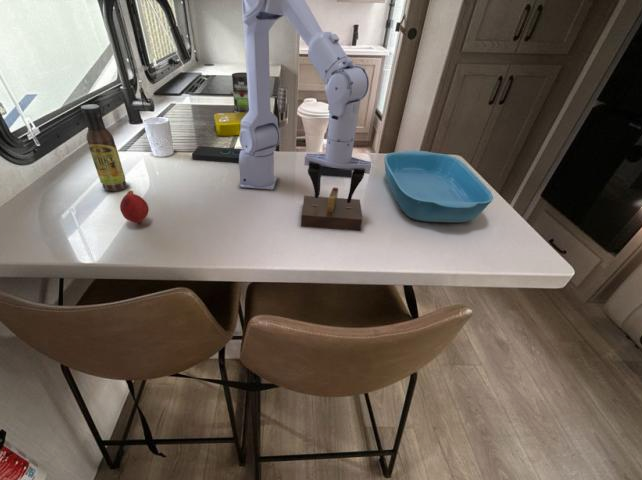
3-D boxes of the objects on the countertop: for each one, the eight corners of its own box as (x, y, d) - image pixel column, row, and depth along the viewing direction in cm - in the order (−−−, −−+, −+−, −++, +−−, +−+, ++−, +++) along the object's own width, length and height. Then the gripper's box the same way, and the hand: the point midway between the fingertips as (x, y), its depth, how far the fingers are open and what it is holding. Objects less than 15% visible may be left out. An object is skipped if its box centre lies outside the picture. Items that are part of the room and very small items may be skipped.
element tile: (256, 135, 126) (256, 121, 123) (217, 136, 124) (215, 122, 120) (251, 123, 137) (250, 110, 134) (214, 124, 134) (213, 111, 131)
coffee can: (254, 115, 146) (252, 77, 136) (231, 113, 147) (228, 76, 137) (259, 109, 153) (258, 73, 144) (238, 107, 154) (235, 71, 145)
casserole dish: (373, 170, 104) (378, 146, 100) (444, 172, 105) (452, 149, 100) (400, 232, 78) (408, 204, 73) (495, 235, 78) (509, 208, 73)
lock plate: (300, 226, 79) (301, 214, 76) (303, 206, 86) (304, 194, 84) (360, 230, 78) (362, 218, 76) (357, 210, 85) (359, 198, 83)
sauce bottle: (100, 192, 88) (68, 109, 75) (108, 182, 93) (79, 102, 79) (124, 192, 89) (97, 109, 75) (131, 182, 93) (106, 102, 80)
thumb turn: (332, 212, 78) (334, 197, 75) (326, 211, 78) (328, 196, 75) (336, 202, 82) (338, 187, 79) (331, 201, 82) (332, 186, 79)
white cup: (180, 152, 111) (174, 119, 104) (162, 159, 106) (154, 125, 100) (164, 147, 114) (157, 115, 107) (145, 154, 109) (137, 121, 102)
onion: (137, 232, 75) (126, 199, 69) (120, 224, 77) (108, 192, 72) (157, 221, 79) (148, 189, 73) (140, 214, 81) (130, 182, 75)
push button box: (311, 174, 101) (312, 161, 98) (312, 163, 107) (313, 150, 104) (350, 177, 100) (353, 164, 97) (349, 166, 107) (351, 153, 104)
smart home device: (252, 158, 104) (191, 154, 106) (252, 164, 106) (191, 159, 107) (257, 149, 110) (199, 145, 112) (257, 154, 112) (199, 150, 113)
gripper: (377, 135, 70) (365, 195, 80) (311, 128, 73) (307, 187, 82) (374, 146, 65) (362, 209, 75) (303, 137, 68) (300, 199, 77)
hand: (332, 198), depth 78 cm, fingers open, 7 cm apart
